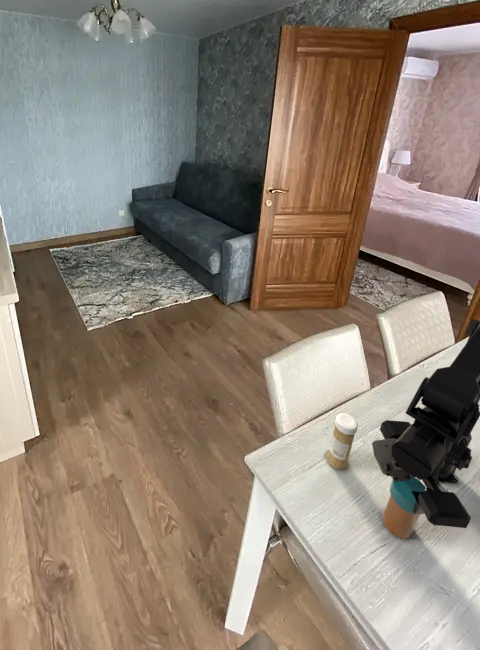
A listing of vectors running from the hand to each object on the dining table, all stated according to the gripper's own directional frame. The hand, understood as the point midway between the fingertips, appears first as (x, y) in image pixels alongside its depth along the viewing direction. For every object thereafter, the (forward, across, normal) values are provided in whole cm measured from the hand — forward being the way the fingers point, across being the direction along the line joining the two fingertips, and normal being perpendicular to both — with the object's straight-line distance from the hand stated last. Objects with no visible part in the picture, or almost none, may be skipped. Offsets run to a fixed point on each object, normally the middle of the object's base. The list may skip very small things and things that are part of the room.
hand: (407, 496), depth 68 cm
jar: (+9, 0, 0) cm, 9 cm away
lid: (0, 0, 0) cm, 0 cm away
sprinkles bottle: (+9, -13, -8) cm, 18 cm away
